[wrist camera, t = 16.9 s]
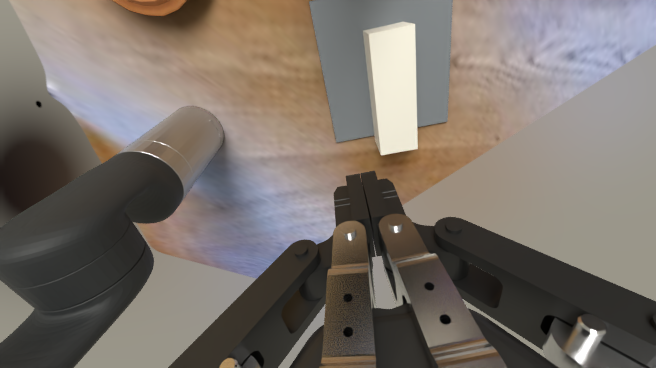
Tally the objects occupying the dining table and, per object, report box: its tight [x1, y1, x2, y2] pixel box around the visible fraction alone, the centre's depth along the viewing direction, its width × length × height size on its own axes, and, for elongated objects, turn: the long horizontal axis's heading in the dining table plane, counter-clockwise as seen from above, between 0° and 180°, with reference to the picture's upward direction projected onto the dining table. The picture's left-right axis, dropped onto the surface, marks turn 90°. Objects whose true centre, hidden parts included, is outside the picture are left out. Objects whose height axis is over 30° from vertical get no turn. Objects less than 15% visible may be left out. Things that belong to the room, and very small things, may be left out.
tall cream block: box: [363, 22, 418, 155], centre depth 43 cm, size 6×6×18 cm
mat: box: [309, 0, 453, 142], centre depth 44 cm, size 20×22×1 cm
